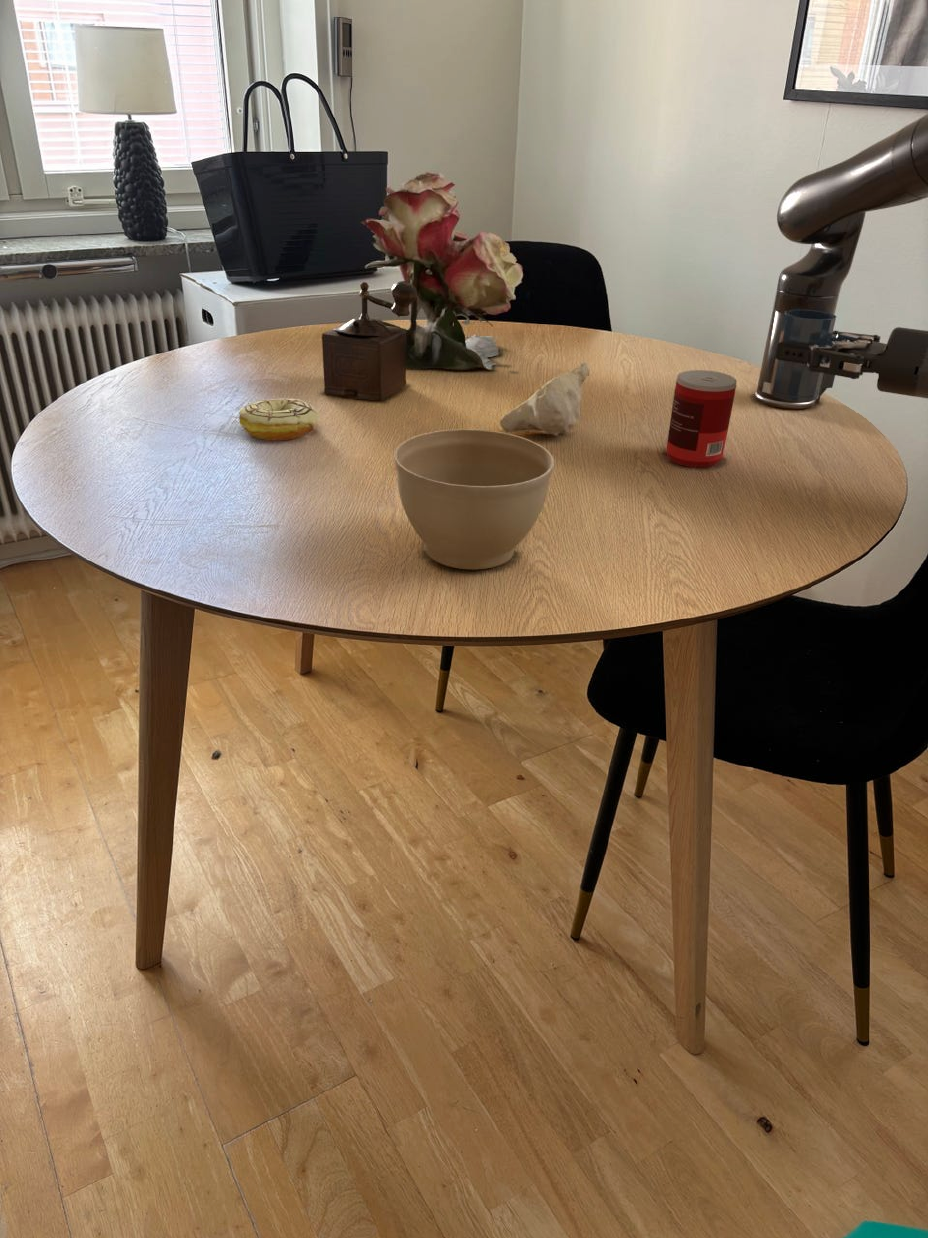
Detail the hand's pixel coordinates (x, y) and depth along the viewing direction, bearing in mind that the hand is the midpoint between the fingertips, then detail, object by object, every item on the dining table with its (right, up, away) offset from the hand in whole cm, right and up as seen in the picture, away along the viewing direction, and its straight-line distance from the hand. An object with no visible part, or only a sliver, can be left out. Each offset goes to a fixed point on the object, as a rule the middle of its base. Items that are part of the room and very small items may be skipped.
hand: (784, 344), depth 114 cm
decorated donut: (-66, -8, +14) cm, 68 cm away
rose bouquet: (-45, +15, +54) cm, 72 cm away
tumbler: (+2, -6, +2) cm, 6 cm away
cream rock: (-28, -6, +19) cm, 35 cm away
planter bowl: (-40, -28, -17) cm, 51 cm away
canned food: (-9, -13, +10) cm, 18 cm away
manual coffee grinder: (-54, +2, +31) cm, 62 cm away
